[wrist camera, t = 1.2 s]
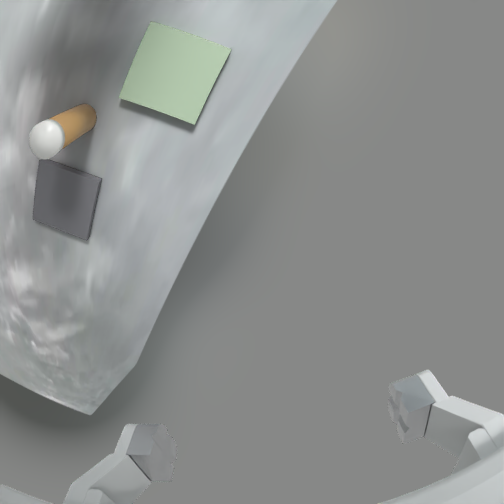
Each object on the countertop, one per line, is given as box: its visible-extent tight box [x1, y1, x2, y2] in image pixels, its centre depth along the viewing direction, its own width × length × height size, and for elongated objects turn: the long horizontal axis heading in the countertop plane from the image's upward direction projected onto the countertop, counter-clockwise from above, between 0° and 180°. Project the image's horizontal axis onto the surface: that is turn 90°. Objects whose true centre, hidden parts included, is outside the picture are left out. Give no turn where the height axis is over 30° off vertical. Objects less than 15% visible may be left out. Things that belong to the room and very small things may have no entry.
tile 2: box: [119, 21, 232, 125], centre depth 40 cm, size 13×13×2 cm
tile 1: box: [33, 159, 102, 240], centre depth 50 cm, size 13×13×2 cm
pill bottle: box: [29, 104, 97, 160], centre depth 37 cm, size 5×5×13 cm
